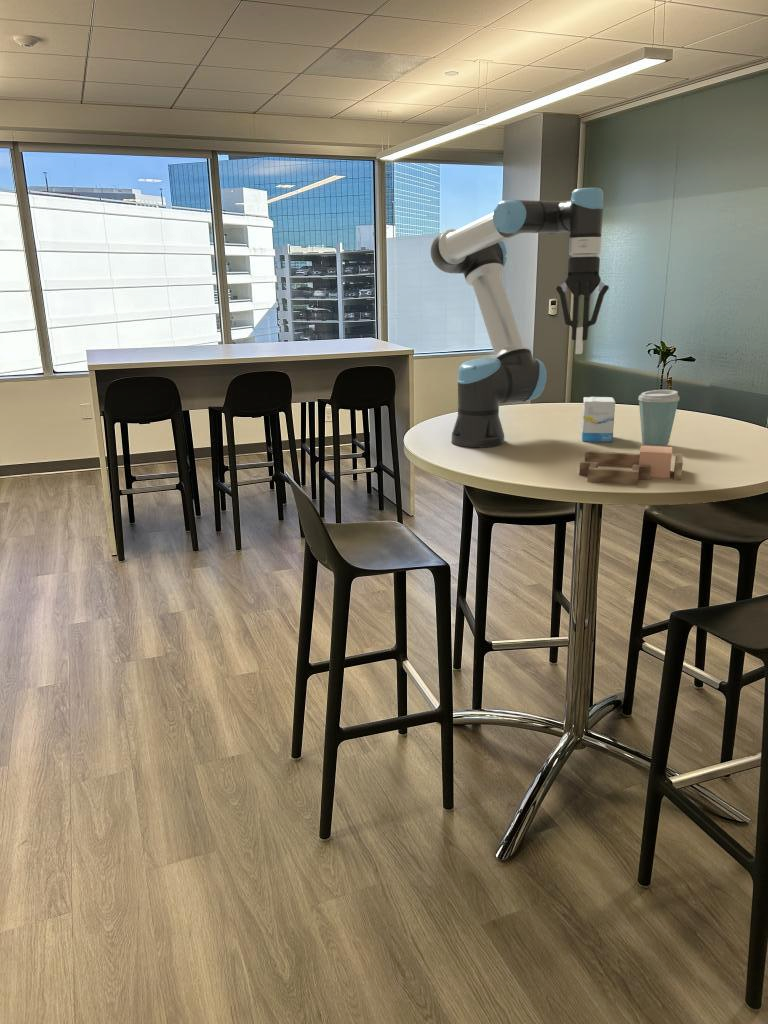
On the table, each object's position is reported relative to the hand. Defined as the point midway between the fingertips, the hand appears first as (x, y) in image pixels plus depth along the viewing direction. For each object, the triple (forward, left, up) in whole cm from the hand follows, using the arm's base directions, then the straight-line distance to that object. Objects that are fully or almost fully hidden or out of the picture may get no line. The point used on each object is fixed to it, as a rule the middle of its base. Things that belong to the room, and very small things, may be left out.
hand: (578, 353), depth 192 cm
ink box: (+4, +21, -27) cm, 34 cm away
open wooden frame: (+15, -18, -26) cm, 35 cm away
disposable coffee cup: (+20, +16, -27) cm, 37 cm away
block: (+21, -15, -27) cm, 37 cm away
